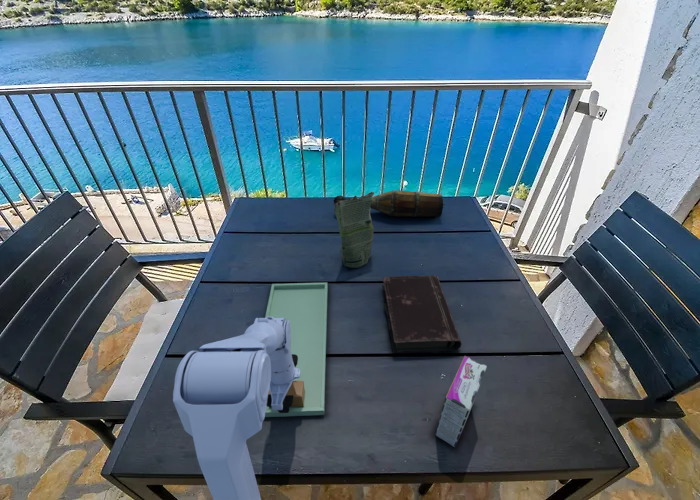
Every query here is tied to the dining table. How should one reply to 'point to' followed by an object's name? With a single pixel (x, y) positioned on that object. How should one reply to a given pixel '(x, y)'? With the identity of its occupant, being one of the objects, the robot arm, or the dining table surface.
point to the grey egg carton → (460, 400)
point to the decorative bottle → (405, 203)
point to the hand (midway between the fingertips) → (286, 395)
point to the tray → (304, 339)
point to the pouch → (355, 229)
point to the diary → (418, 315)
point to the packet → (296, 393)
